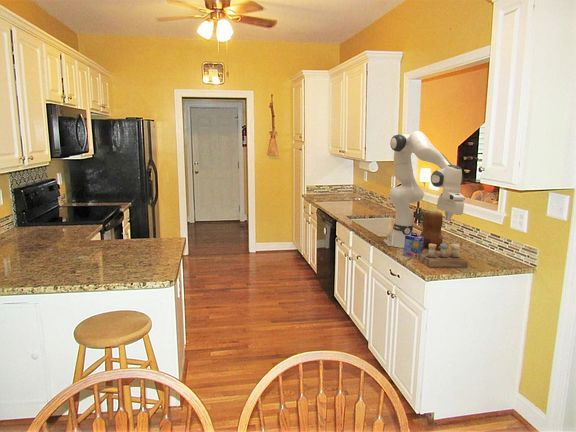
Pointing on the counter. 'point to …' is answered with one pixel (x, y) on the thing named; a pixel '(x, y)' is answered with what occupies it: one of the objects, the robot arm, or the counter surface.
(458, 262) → the wooden board with holes
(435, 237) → the brown rounded block
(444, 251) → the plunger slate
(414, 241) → the ink cartridge box
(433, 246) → the plunger terracotta
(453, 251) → the plunger cream
